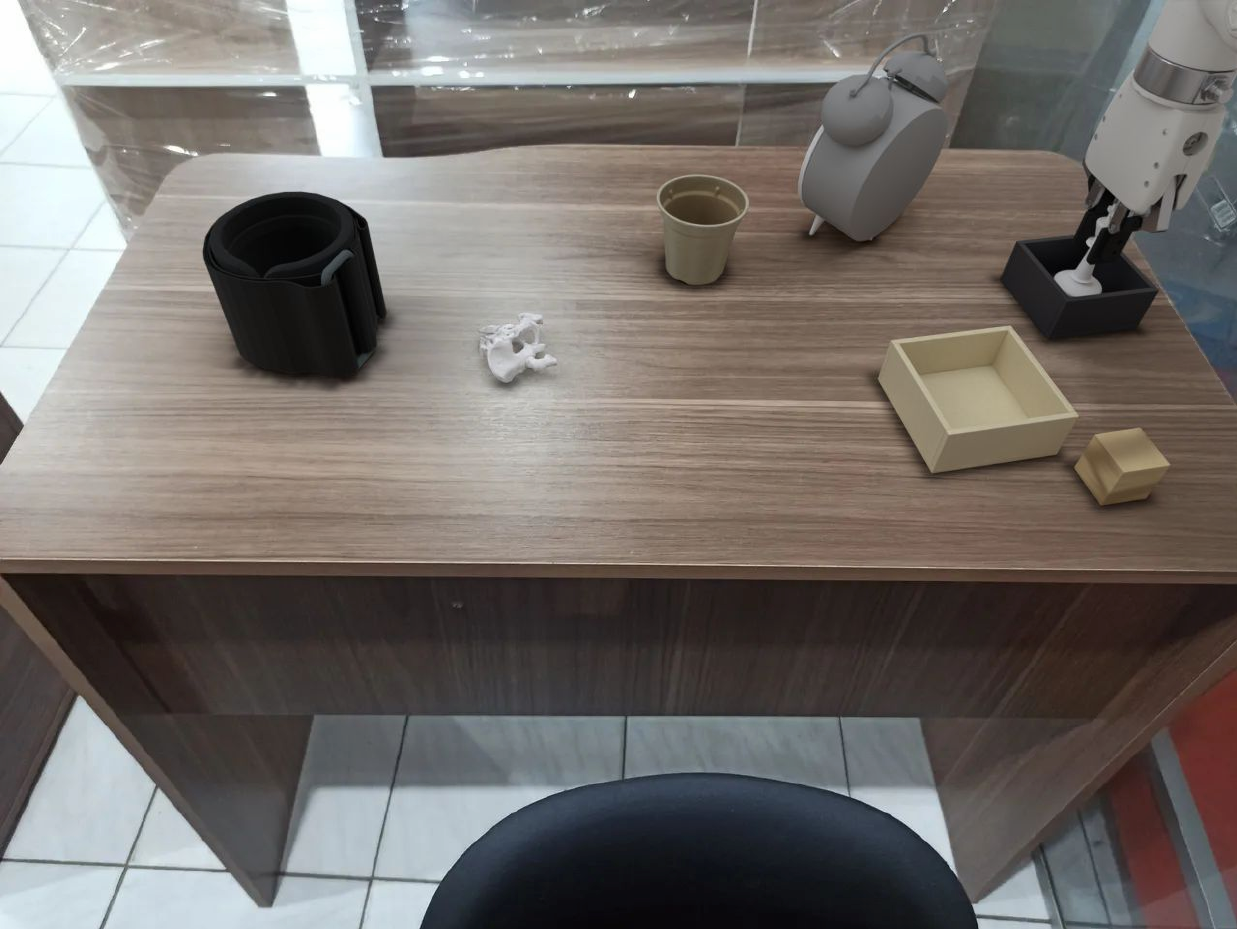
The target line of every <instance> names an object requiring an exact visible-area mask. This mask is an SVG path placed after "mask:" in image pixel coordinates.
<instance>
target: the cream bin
mask: <svg viewBox="0 0 1237 929" xmlns="http://www.w3.org/2000/svg"><path fill="white" fill-rule="evenodd" d="M877 381H878V382H879V384H880V386H881V387H882V389H883V391H884V393H885V394H886V396H887V398H888V400H889V402H890V403H891V405H892V407H893V409H894V410H895V412H896V414H897V415H898V417H899V419H900V421H901V422H902V425H903V426H904V428H905V429H906V431H907V433H908V435H909V436H910V438H911V440H912V442H913V443H914V445H915V447H916V448H917V450H918V452H919V454H920V456H921V457H922V459H923V461H924V462H925V464H926V466H927V468H928V469H929V471H930V473H931V474H937V473H944V472H950V471H958V470H963V469H970V468H977V467H984V466H990V465H997V464H1004V463H1011V462H1017V461H1024V460H1030V459H1036V458H1037V459H1038V458H1043V457H1051V456H1056V455H1058V453H1059V451H1060V450H1061V448H1062V447H1063V444H1064V443H1065V441H1066V440H1067V438H1068V436H1069V434H1070V433H1071V431H1072V429H1073V428H1074V426H1075V424H1076V422H1078V419H1079V417H1080V415H1079V414H1078V413H1077V411H1076V410H1075V408H1074V407H1073V406H1072V404H1071V403H1070V401H1068V399H1067V398H1066V397H1065V395H1064V394H1063V393H1062V391H1061V390H1060V388H1059V387H1058V386H1057V385H1056V384H1055V382H1054V381H1053V379H1052V378H1051V377H1050V375H1049V374H1048V373H1047V371H1046V370H1045V369H1044V368H1043V366H1042V365H1041V363H1040V362H1039V361H1038V360H1037V357H1035V355H1034V354H1033V353H1032V352H1031V350H1030V349H1029V347H1028V346H1027V345H1026V343H1025V342H1024V341H1023V339H1022V338H1021V337H1020V336H1019V334H1018V333H1017V332H1016V331H1015V329H1014V328H1013V327H1012V326H1011V325H1003V326H995V327H987V328H978V329H971V330H970V329H969V330H962V331H955V332H946V333H939V334H931V335H921V336H915V337H906V338H899V339H898V338H897V339H891V340H890V342H889V345H888V348H887V351H886V354H885V357H884V360H883V363H882V366H881V368H880V372H879V375H878V378H877Z"/></svg>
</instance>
